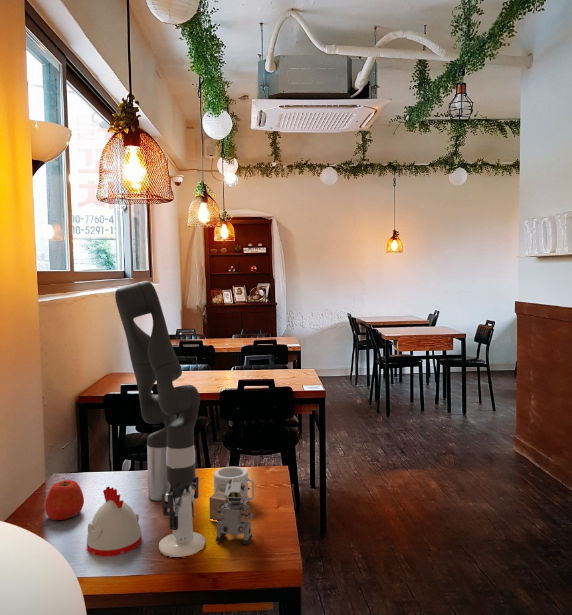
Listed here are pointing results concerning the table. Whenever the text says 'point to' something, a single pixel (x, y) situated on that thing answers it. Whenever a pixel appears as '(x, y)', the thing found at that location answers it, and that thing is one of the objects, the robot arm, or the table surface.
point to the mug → (229, 473)
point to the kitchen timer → (113, 527)
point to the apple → (64, 500)
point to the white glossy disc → (181, 546)
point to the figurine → (235, 512)
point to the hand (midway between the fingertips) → (181, 522)
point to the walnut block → (216, 503)
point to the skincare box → (184, 520)
